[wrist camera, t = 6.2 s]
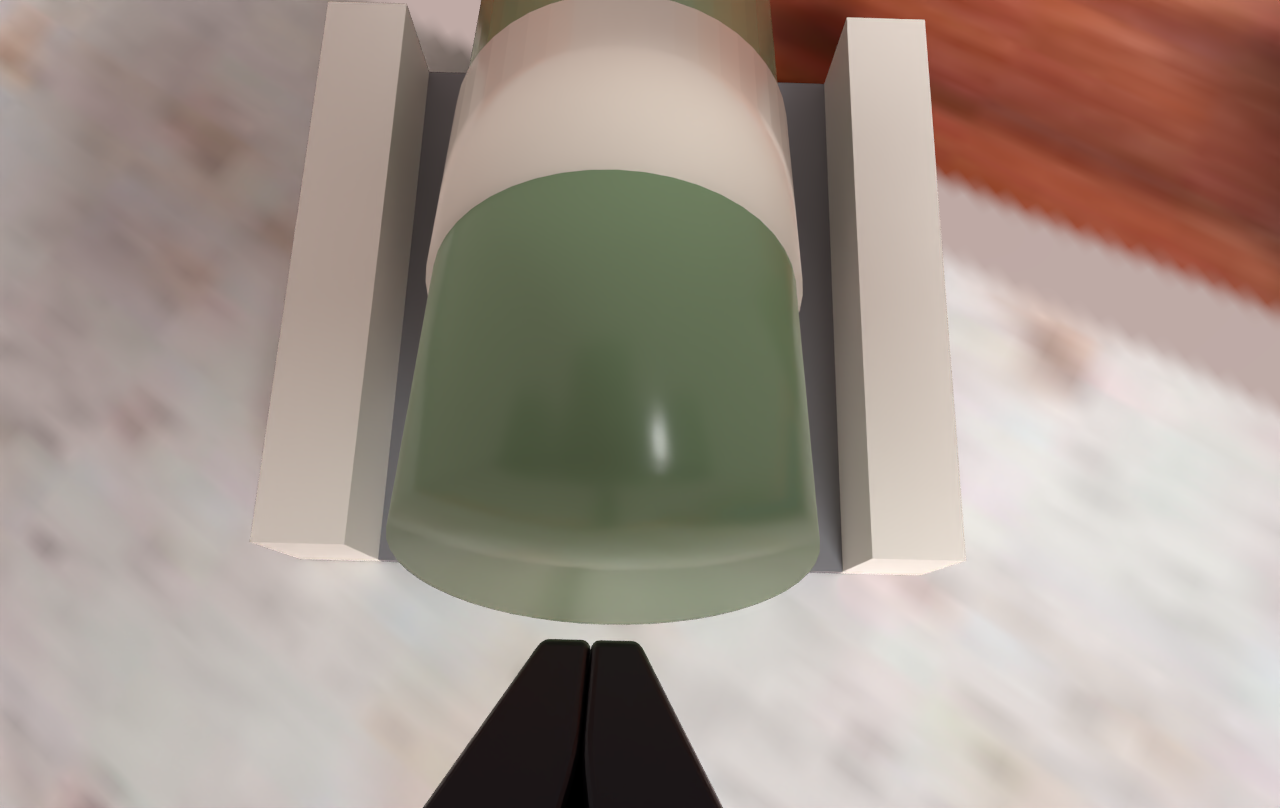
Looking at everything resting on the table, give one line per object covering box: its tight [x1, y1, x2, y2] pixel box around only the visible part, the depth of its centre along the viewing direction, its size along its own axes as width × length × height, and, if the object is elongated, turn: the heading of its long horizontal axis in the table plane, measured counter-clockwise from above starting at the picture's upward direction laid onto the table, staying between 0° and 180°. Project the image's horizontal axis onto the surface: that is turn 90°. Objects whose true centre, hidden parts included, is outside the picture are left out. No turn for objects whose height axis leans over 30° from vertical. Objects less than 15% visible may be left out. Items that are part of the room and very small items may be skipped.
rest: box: [250, 1, 966, 575], centre depth 18 cm, size 11×12×2 cm
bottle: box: [386, 0, 820, 625], centre depth 16 cm, size 6×6×17 cm
